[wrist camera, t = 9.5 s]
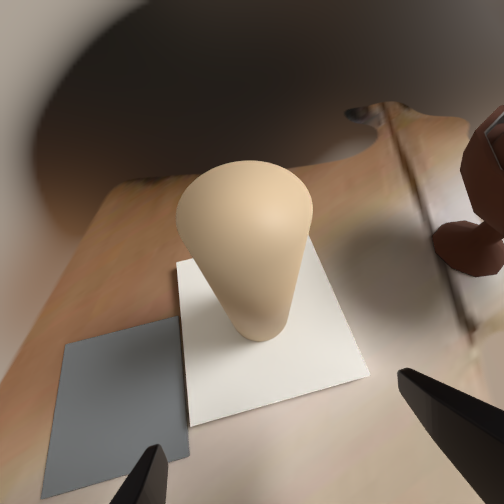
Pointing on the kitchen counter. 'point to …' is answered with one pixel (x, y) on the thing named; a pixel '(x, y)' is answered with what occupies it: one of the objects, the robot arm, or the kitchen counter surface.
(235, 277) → the tan tapered rounded piece
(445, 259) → the ice cream bowl
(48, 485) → the mat
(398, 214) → the kitchen counter surface
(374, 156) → the kitchen counter surface
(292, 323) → the cutting board
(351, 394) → the kitchen counter surface
